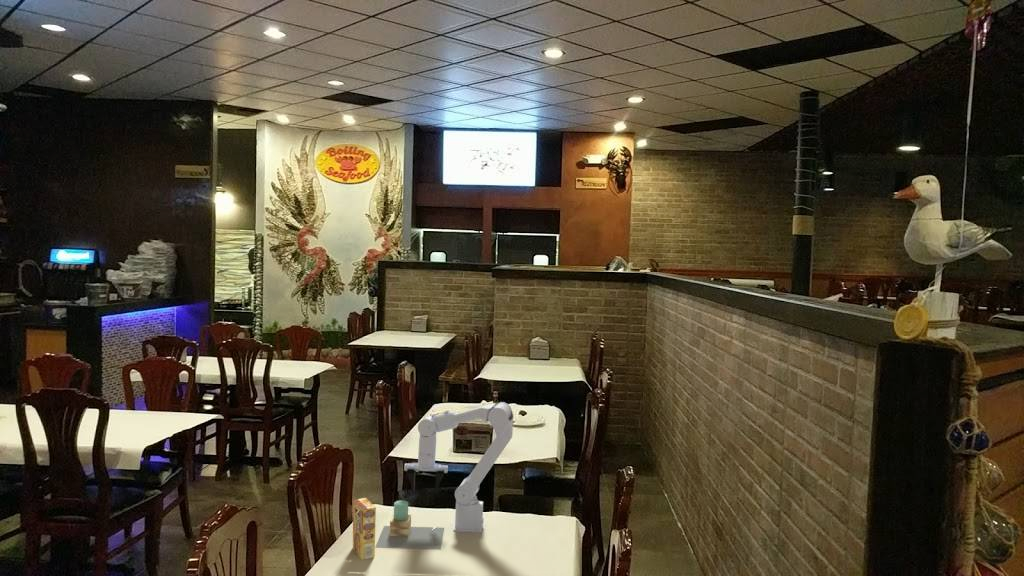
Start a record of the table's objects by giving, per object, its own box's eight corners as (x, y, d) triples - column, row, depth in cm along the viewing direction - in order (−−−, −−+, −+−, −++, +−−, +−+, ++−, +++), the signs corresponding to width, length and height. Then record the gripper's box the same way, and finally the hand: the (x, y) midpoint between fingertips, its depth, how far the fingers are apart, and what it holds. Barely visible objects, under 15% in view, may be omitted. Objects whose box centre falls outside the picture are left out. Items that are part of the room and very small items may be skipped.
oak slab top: (411, 521, 209) (411, 514, 209) (408, 529, 203) (408, 522, 203) (392, 521, 209) (393, 514, 209) (389, 528, 203) (390, 521, 203)
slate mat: (444, 528, 211) (444, 527, 211) (440, 550, 195) (440, 549, 195) (384, 526, 211) (384, 525, 211) (375, 548, 195) (375, 547, 195)
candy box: (375, 557, 189) (377, 507, 188) (361, 561, 186) (363, 509, 186) (364, 546, 196) (366, 497, 195) (351, 549, 194) (352, 499, 193)
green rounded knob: (408, 515, 208) (409, 500, 208) (407, 521, 204) (407, 506, 204) (394, 515, 208) (395, 500, 208) (392, 521, 204) (393, 505, 203)
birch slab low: (410, 528, 209) (411, 521, 209) (408, 536, 203) (408, 529, 203) (392, 528, 209) (392, 521, 209) (389, 535, 203) (389, 528, 203)
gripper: (403, 454, 210) (401, 495, 211) (447, 457, 211) (445, 497, 211) (406, 448, 217) (404, 487, 218) (449, 450, 218) (446, 489, 219)
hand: (424, 492), depth 215 cm, fingers open, 7 cm apart
